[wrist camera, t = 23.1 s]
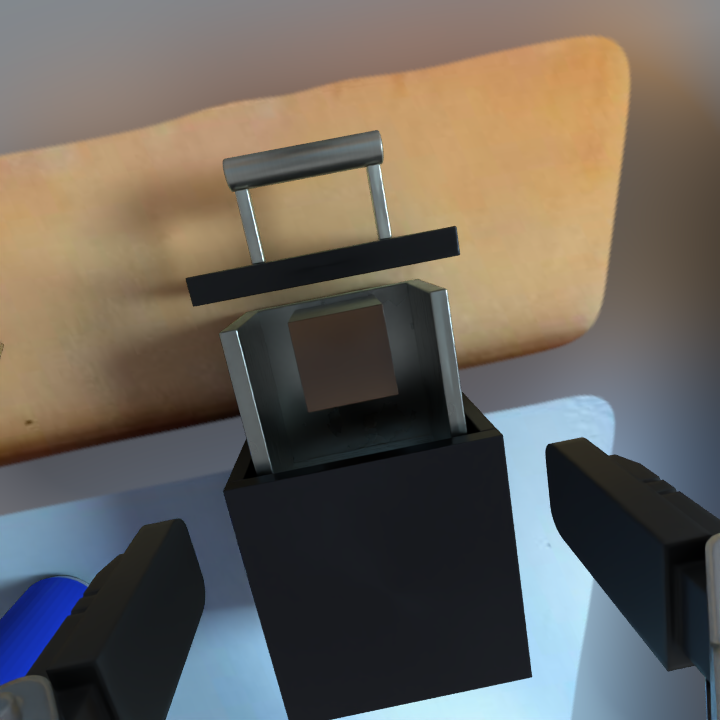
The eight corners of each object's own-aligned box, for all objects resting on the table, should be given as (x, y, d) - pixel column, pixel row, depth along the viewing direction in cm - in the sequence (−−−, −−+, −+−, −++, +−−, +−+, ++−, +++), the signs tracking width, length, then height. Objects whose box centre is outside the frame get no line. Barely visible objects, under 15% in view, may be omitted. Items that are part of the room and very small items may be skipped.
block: (294, 310, 26) (287, 322, 21) (373, 294, 26) (382, 303, 22) (311, 386, 27) (307, 413, 23) (387, 371, 27) (399, 394, 23)
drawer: (201, 182, 25) (150, 156, 18) (409, 143, 25) (440, 102, 18) (274, 469, 29) (256, 540, 22) (452, 434, 29) (491, 493, 22)
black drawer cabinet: (254, 418, 29) (222, 491, 20) (451, 379, 29) (503, 435, 21) (301, 598, 32) (290, 728, 24) (477, 561, 33) (532, 677, 24)
